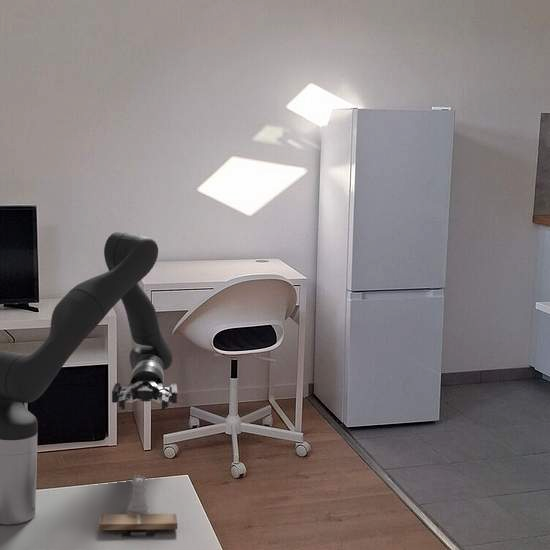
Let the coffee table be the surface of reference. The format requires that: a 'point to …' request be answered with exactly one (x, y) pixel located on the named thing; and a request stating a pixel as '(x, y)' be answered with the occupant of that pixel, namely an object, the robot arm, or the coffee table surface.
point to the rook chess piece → (138, 497)
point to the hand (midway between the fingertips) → (143, 405)
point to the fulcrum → (138, 533)
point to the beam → (137, 521)
